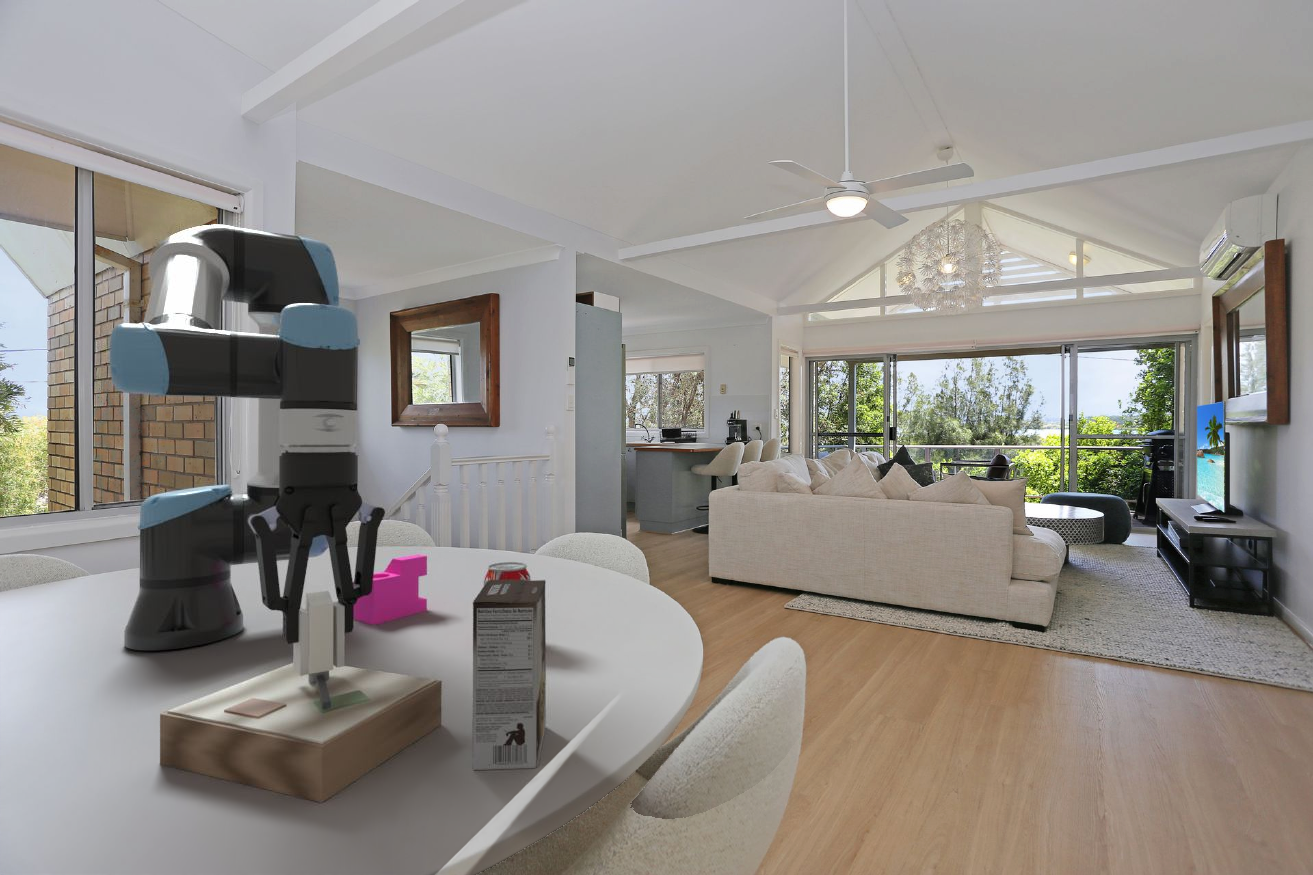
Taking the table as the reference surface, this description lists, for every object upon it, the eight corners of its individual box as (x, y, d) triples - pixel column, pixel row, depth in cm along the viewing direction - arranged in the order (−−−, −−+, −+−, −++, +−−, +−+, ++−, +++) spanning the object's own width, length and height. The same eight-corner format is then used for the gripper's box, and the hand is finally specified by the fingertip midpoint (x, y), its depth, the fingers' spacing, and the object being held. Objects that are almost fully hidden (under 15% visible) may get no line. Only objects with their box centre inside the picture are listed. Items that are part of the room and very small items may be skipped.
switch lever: (313, 713, 61) (313, 620, 61) (305, 672, 72) (305, 593, 72) (339, 708, 62) (339, 617, 62) (327, 668, 73) (327, 590, 73)
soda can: (519, 653, 93) (519, 571, 93) (474, 650, 95) (474, 569, 95) (537, 639, 100) (538, 562, 100) (495, 636, 102) (496, 560, 102)
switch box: (159, 763, 62) (160, 709, 62) (301, 699, 77) (301, 656, 77) (321, 802, 55) (322, 741, 55) (441, 724, 70) (441, 676, 70)
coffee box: (486, 728, 69) (487, 578, 69) (547, 726, 70) (547, 577, 70) (469, 772, 60) (470, 600, 60) (539, 769, 61) (539, 598, 61)
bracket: (426, 613, 116) (427, 555, 116) (373, 626, 107) (373, 565, 107) (387, 603, 122) (387, 549, 122) (334, 615, 114) (334, 557, 114)
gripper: (240, 451, 61) (239, 697, 61) (406, 449, 72) (406, 659, 72) (225, 450, 67) (224, 676, 67) (382, 449, 78) (381, 643, 78)
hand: (319, 667), depth 69 cm, fingers closed on switch lever, 3 cm apart
